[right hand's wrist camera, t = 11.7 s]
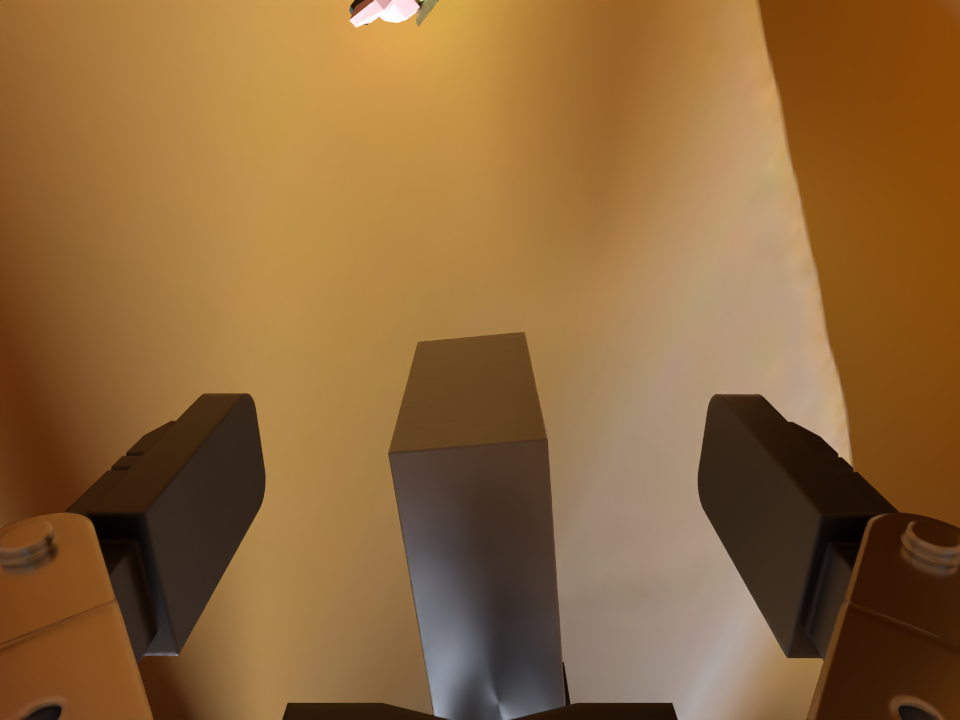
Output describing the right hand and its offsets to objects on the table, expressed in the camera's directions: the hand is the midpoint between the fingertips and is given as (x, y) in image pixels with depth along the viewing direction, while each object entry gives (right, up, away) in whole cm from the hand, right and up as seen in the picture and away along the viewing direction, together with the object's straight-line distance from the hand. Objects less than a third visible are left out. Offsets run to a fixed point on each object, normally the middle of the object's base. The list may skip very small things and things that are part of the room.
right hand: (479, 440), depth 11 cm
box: (+1, -9, +27) cm, 28 cm away
